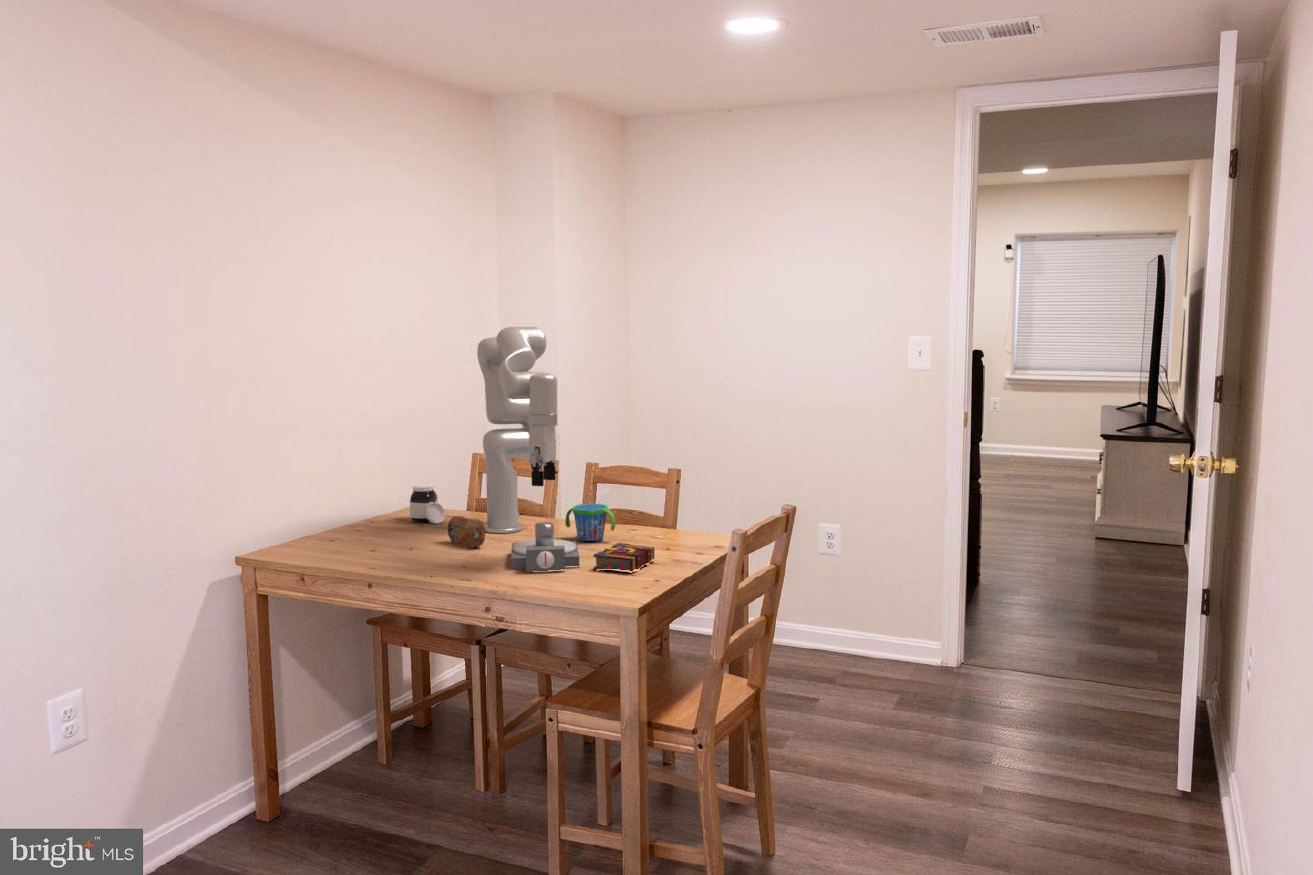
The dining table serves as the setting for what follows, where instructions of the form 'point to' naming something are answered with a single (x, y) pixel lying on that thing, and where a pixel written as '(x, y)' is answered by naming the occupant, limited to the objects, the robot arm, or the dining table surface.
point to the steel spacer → (544, 534)
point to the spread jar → (425, 505)
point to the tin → (466, 531)
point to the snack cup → (590, 521)
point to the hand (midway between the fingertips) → (543, 482)
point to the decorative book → (624, 557)
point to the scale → (544, 555)
